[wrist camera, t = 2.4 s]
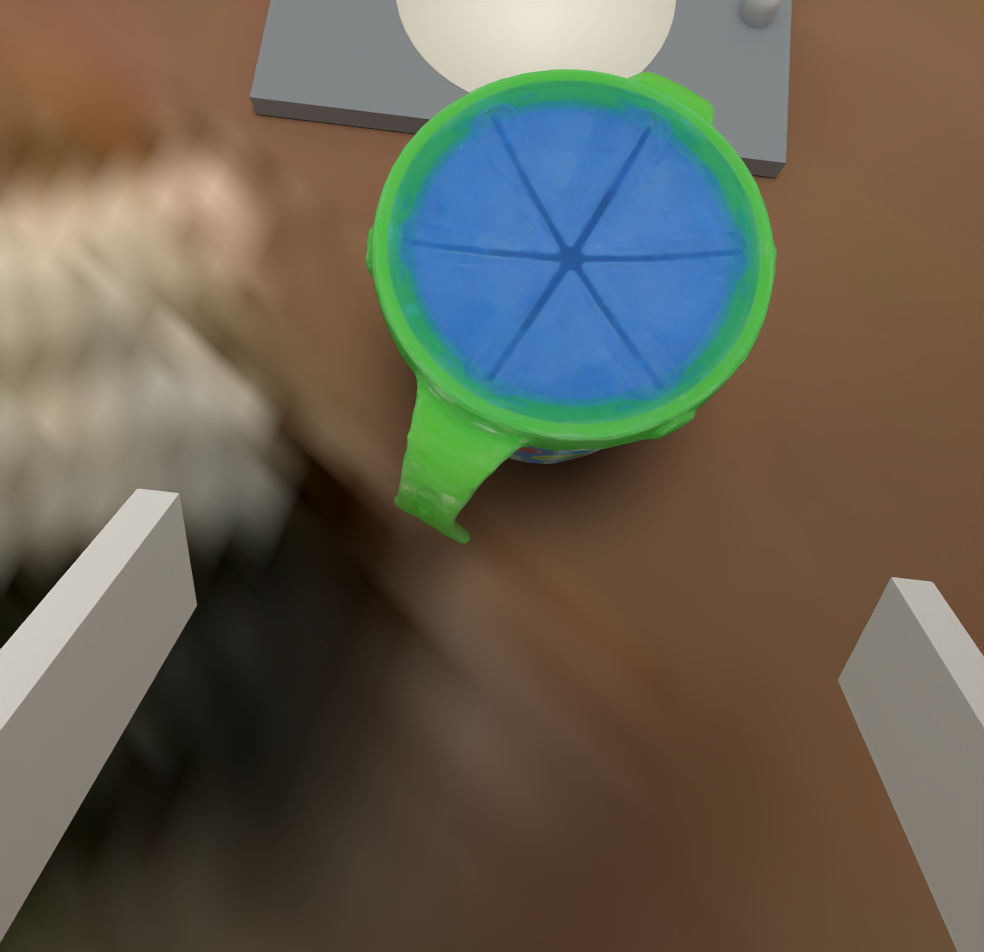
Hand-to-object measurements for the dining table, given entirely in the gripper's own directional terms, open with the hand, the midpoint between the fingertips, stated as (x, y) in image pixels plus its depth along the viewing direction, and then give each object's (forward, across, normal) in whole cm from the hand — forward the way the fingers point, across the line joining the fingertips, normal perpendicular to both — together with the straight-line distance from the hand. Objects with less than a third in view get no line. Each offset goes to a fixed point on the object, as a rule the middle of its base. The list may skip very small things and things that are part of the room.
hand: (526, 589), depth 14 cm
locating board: (+28, -1, +9) cm, 29 cm away
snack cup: (+16, 0, -3) cm, 16 cm away
